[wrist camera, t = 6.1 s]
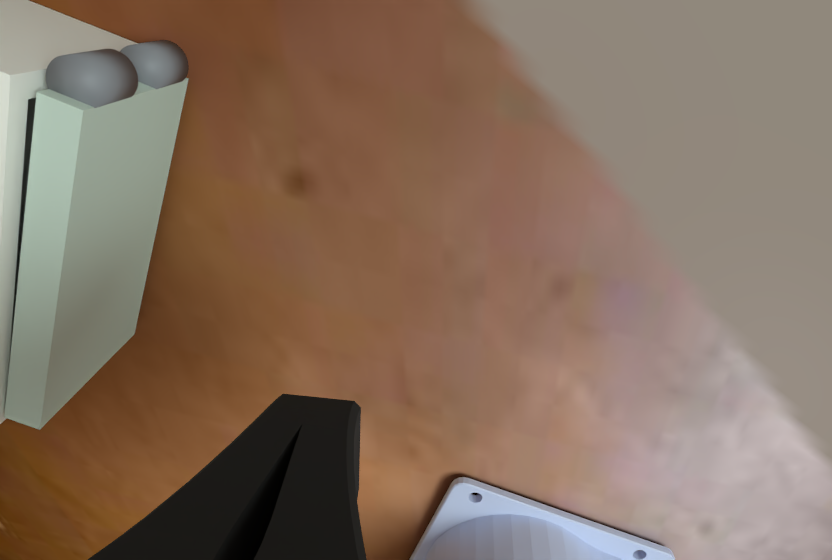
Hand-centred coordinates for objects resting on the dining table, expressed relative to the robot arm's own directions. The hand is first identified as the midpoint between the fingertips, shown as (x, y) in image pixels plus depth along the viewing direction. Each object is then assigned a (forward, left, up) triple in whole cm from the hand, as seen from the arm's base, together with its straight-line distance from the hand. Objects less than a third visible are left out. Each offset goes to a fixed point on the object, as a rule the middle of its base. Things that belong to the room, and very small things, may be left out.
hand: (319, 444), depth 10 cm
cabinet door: (+8, +2, -10) cm, 12 cm away
